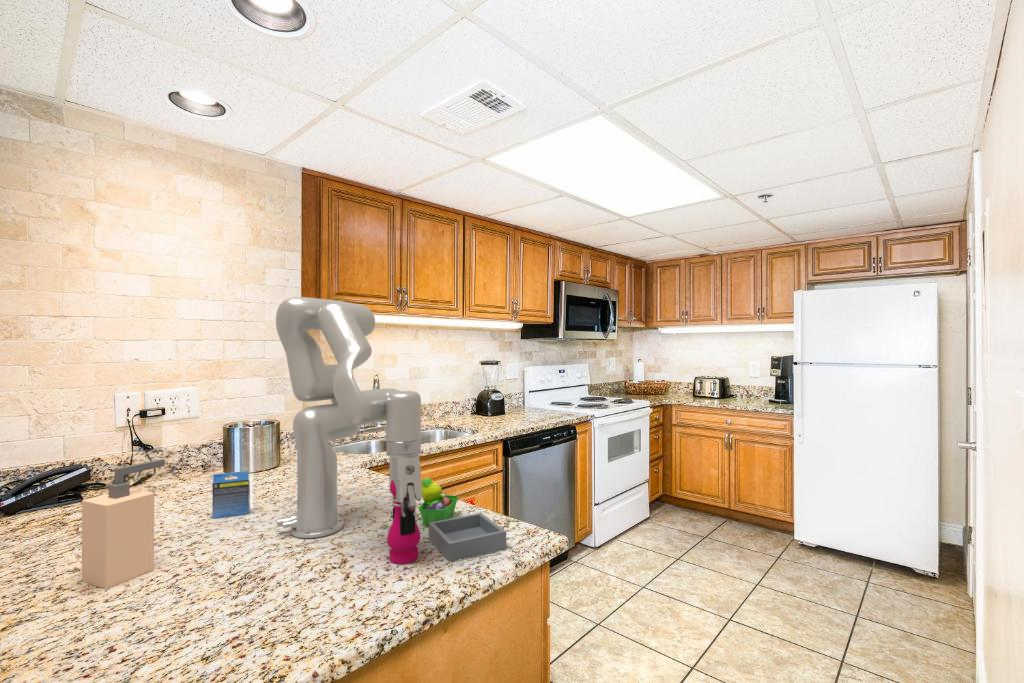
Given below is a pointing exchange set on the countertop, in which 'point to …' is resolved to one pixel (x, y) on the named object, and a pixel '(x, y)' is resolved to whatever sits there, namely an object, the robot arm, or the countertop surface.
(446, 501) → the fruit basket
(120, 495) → the soap dispenser
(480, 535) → the tray
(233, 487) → the label tape box
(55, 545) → the countertop surface
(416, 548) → the pepper mill
